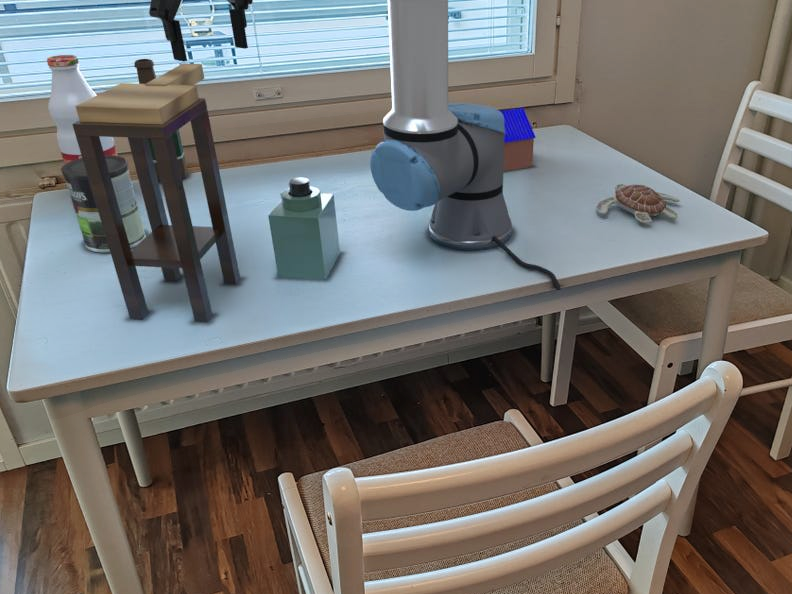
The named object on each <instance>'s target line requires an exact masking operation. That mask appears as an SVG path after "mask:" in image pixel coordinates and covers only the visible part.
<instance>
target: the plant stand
mask: <svg viewBox="0 0 792 594" xmlns="http://www.w3.org/2000/svg"><path fill="white" fill-rule="evenodd" d="M206 100H207V99H206V98H204V97H199V100H198V101H197V102H195V103H194V104H192V105H191V106H189V107H188V108H186V109H185V110H183V111H182V112H180V113H179V114H177V115H176V116H174V117H173V118H171V119H170V120H168V121H167V122H165V123H164V124H162V125H161V124H131V123H101V122H80V120H79V121H77V122H75V123H74V124H72V125H73V129H74V132H75V135H76V139H77V142H78V145H79V149H80V152H81V155H82V159H83V162H84V166H85V169H86V172H87V176H88V179H89V182H90V186H91V189H92V192H93V196H94V199H95V203H96V206H97V209H98V213H99V216H100V219H101V223H102V226H103V229H104V233H105V236H106V239H107V243H108V246H109V250H110V253H109V254H110V256H111V259H112V263H113V266H114V269H115V270H114V271H115V273H116V276H117V279H118V283H119V287H120V289H121V294H122V296H123V300H124V303H125V307H126V311H127V313H128V317H129V319H130V320H144V319H145V318H146V317H147V316H148V314H149V309H148V305H147V302H146V299H145V295H144V292H143V288H142V285H141V280H140V276H139V273H138V270H137V267H144V268H161V272H162V273H161V274H162V277H163V280H164V282H169V283H171V282H172V283H178V281H179V280H180V279H181V277H182V274H183V278H184V283H185V287H186V290H187V296H188V299H189V303H190V307H191V312H192V316H193V319H194V322H195V323H209V322H210V321H211V319H212V317H214V316H213V311H212V306H211V301H210V298H209V293H208V289H207V283H206V280H205V276H204V271H203V266H202V263H201V260H202V258H203V257H204V256H205V255H206V254H207V253H208V252H209V251H210V249H211V248H212V247H213V246H214V245H216V250H217V255H218V261H219V265H220V269H221V270H220V271H221V275H222V279H223V284H224V285H234V286H235V285H237V284H238V283H239V282H240V281H241V275H240V271H239V266H238V265H239V264H238V260H237V255H236V250H235V244H234V239H233V234H232V230H231V223H230V219H229V214H228V209H227V203H226V197H225V193H224V187H223V183H222V177H221V172H220V168H219V162H218V158H217V152H216V147H215V142H214V136H213V131H212V126H211V121H210V115H209V111H208V110H209V109H208V105H207V101H206ZM188 123H190V125H191V130H192V135H193V140H194V145H195V150H196V154H197V160H198V164H199V169H200V173H201V178H202V183H203V189H204V193H205V198H206V202H207V207H208V211H209V216H210V217H209V218H210V222H211V226H200V225H199V226H198V225H193V221H192V218H191V213H190V208H189V204H188V201H187V200H188V199H187V195H186V191H185V185H184V182H183V179H182V177H181V173H180V168H179V164H178V159H177V155H176V150H175V146H174V141H173V137H172V134H173V133H174V132H175V131H177V130H178V129H179V130H180V129H181V128H182V127H184V126H185V125H187V124H188ZM99 136H102V137H113V138H127V140H128V144H129V148H130V152H131V153H130V154H131V156H132V160H133V164H134V168H135V172H136V175H137V180H138V184H139V187H140V191H141V195H142V198H143V202H144V207H145V210H146V211H145V212H146V214H147V218H148V222H149V226H150V230H151V232H150V233H149V234H148V235H146V238H145V239H144V240H142V241H141V242H140V243H139V244H138V245H137V246H136V247H133V248H130V245H129V241H128V238H127V234H126V230H125V227H124V223H123V220H122V216H121V212H120V209H119V205H118V202H117V198H116V195H115V191H114V187H113V184H112V180H111V177H110V173H109V170H108V166H107V162H106V159H105V155H104V152H103V148H102V145H101V141H100V137H99ZM148 138H151V142H152V146H153V150H154V154H155V158H156V162H157V166H158V171H159V175H160V179H161V182H158V179H157V175H156V171H155V166H154V162H153V158H152V154H151V150H150V146H149V142H148ZM160 183H161V188H162V191H163V195H164V200H163V197H162V191H161V188H160ZM164 201H165V203H166V208H167V212H166V208H165V204H164ZM167 213H168V216H169V220H170V223H169V220H168V217H167ZM181 270H182V274H181Z"/></svg>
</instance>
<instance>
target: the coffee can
mask: <svg viewBox="0 0 792 594" xmlns="http://www.w3.org/2000/svg"><path fill="white" fill-rule="evenodd" d="M105 159H106V162H107V166H108V170H109V173H110V177H111V180H112V184H113V187H114V191H115V195H116V198H117V202H118V205H119V209H120V212H121V216H122V220H123V223H124V227H125V230H126V234H127V238H128V241H129V245H130V248H131V249H134V248H135V247H136V246H137V245H138V244H139V243H140V242H141V241H142V240H144V239H145V238H146V237H147V234H146V232H145V228H144V225H143V221H142V217H141V212H140V210H139V205H138V202H137V197H136V193H135V190H134V189H135V188H134V185H133V181H132V178H131V174H130V170H129V162H128V160H127V159H126V158H125V157H122V156H119V155H118V156H113V155H105ZM60 171H61V173H62V174H61V175H63V177H64V180H65V181H64V182H65V185H66V187H67V190H68V193H69V196H70V201H71V203H72V207H73V209H74V213H75V215H76V218H77V222H78V225H79V228H80V231H81V234H82V238H83V242H84V246H85V248H86V249H87V250H89V251H90V252H94V253H99V254H100V253H102V254H111V253H110V250H109V246H108V243H107V239H106V236H105V233H104V229H103V226H102V223H101V219H100V216H99V213H98V209H97V206H96V203H95V199H94V196H93V192H92V189H91V186H90V182H89V179H88V176H87V172H86V169H85V166H84V162H83V159H82V158H79V159H76V160H73V161H71V162H69V163H67V164H64V165H62V167H61V168H60Z"/></svg>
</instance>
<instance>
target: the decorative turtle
mask: <svg viewBox="0 0 792 594" xmlns="http://www.w3.org/2000/svg"><path fill="white" fill-rule="evenodd" d="M614 188H615V189H614V193H615V195H614V196H611V197H608V198H605V199H603V200H601V201H600V202H598V203H597V205H596V207H595V209H596V211H597V212H598V213H600V214H601V215H607V214H608V212H609V211H608V210H609V208H610V207H611V206H612V205H614V204H616V205H617V206H618V207H619V208H621V209H623V210H624V211H626V212H628V213H629V214H631V215H634V218H635V220H637V222H640V223H642V224H651V223H652V222H653V220H652V218H651V217H656V216H657V215H659V214H663V215H666V217H669V218H670V219H673V220H676V219H678V217H679V216H678V214H677V212H675V210H673V209H671V208H670V207H668V206H667V202H666V201H671V202H673V203H679V202H681V199H679V198H677V197H675V196H672V195H669V194H666V193H663V192H657V191H656V190H654V189H653V188H651V187H649V186H646V185H644V184H630V185H629V184H628V185H626V184H623V183H619V184H616V185H615V187H614Z"/></svg>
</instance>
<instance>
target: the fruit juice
mask: <svg viewBox="0 0 792 594" xmlns="http://www.w3.org/2000/svg"><path fill="white" fill-rule="evenodd" d="M46 63H47V66H48V68H49V70H51V88H50V96H49V99H48V103H47V107H48V108H47V109H48V113H49V116H50V118H51V120H52V121H53V123H54V124H55V126H56V140H57V145H58V149H59V151H60V154H61V157H62V161H63V164H64V165H65V164H67V163H69V162H71V161H73V160H76V159H79V158H82V155H81V152H80V149H79V145H78V142H77V139H76V135H75V132H74V129H73V125H72V124H74V123H75V122H77V121H79V117H78V113H77V110H76V106H77V105H79V104H81V103H83V102H85V101H87V100H89V99H91V98H93V97H95V96H97V95H98V94H97V93H95V91H94V90H93V89H92V87H91V86H90V85H89V83H88V82H87V81H86V79H85V77H84V76H83V74H82V73H81V71H80V69H79V67H80V62H79V59H78V56H76V55H74V54H59V55H58V54H57V55H53V56H50V57H47V58H46ZM99 137H100V141H101V145H102V148H103V152H104V155H113V156H119V155H118V152H117V148H116V144H115V140H114V137H102V136H99Z"/></svg>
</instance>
